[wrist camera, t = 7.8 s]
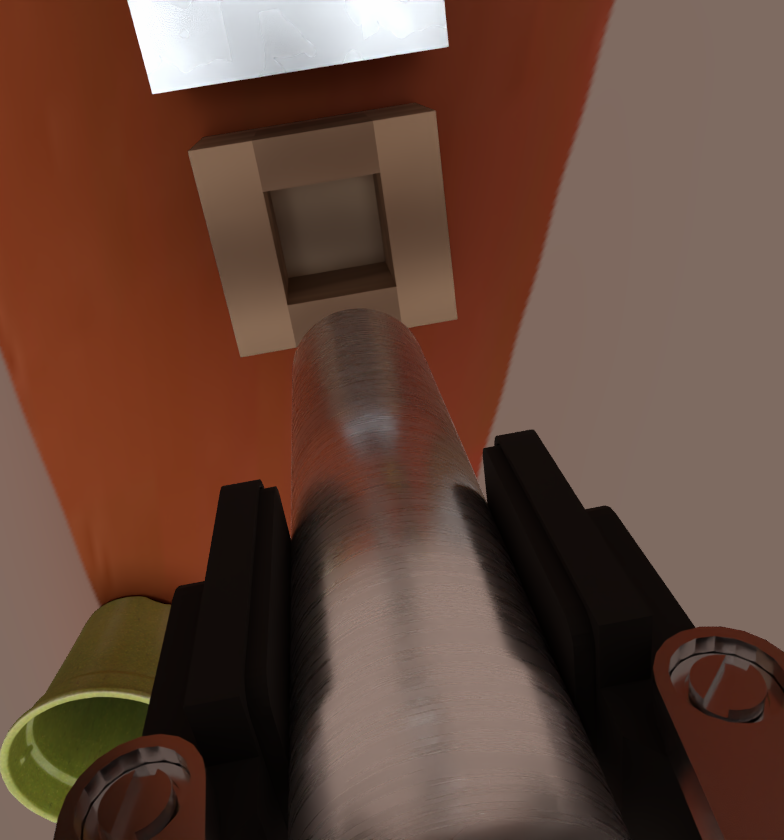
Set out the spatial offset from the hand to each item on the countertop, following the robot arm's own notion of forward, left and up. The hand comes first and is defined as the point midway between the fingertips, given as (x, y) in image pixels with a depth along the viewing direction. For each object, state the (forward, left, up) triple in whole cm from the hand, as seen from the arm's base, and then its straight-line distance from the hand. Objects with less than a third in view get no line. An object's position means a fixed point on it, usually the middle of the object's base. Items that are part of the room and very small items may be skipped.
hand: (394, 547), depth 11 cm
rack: (0, 0, -25) cm, 25 cm away
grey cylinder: (0, 0, -7) cm, 7 cm away
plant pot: (+21, -15, -25) cm, 36 cm away
